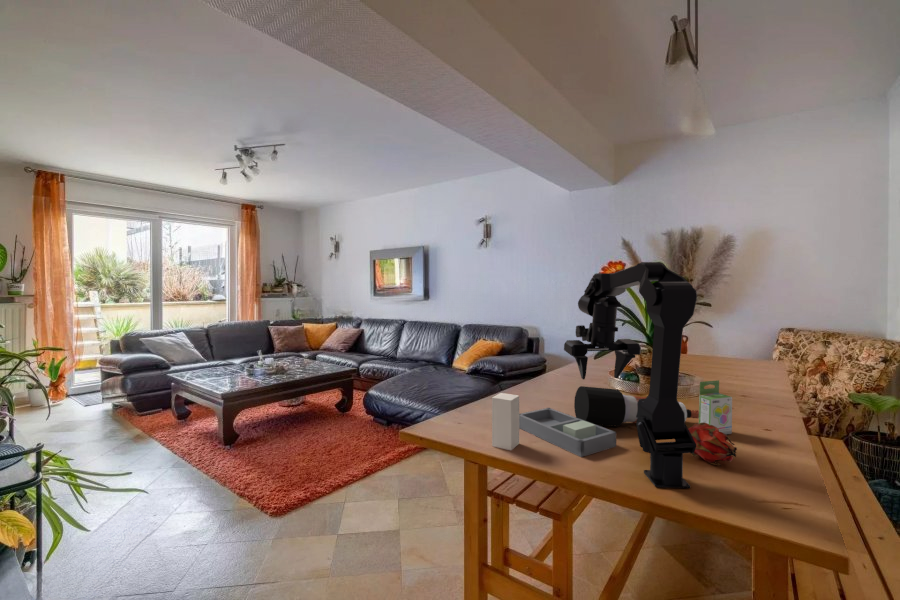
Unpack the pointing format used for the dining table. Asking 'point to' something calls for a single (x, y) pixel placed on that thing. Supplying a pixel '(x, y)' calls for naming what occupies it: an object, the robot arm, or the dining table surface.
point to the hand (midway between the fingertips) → (599, 378)
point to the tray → (567, 431)
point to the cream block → (505, 421)
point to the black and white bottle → (611, 406)
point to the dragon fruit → (711, 443)
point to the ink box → (715, 407)
